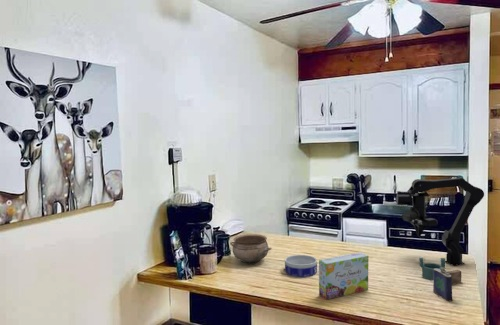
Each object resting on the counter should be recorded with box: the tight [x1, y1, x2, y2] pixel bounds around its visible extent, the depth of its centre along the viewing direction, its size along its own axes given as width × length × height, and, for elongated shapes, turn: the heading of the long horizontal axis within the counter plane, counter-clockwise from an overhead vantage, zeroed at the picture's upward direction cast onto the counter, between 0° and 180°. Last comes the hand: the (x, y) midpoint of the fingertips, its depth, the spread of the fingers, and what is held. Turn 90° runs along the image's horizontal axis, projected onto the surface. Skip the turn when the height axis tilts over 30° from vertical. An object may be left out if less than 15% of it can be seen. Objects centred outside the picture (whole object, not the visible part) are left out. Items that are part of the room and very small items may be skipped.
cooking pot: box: [229, 233, 273, 265], centre depth 200 cm, size 25×19×12 cm
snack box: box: [318, 252, 369, 301], centre depth 157 cm, size 21×6×15 cm, turn 114°
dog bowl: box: [284, 254, 318, 278], centre depth 183 cm, size 15×15×6 cm
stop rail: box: [446, 269, 462, 285], centre depth 163 cm, size 12×2×5 cm, turn 107°
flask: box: [432, 267, 453, 302], centre depth 151 cm, size 10×3×12 cm, turn 8°
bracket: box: [418, 257, 446, 281], centre depth 171 cm, size 9×9×9 cm
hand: (418, 236), depth 189 cm, fingers closed
